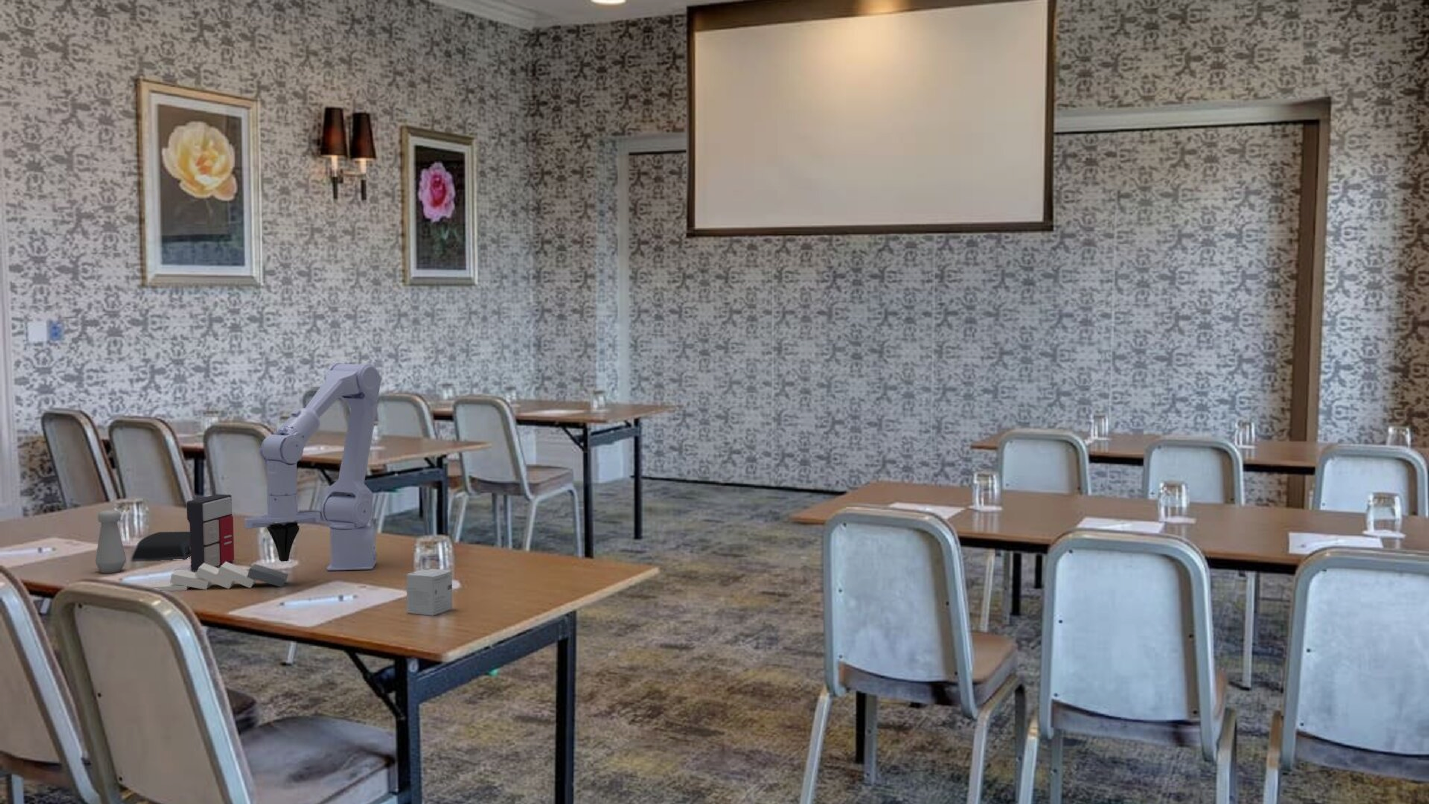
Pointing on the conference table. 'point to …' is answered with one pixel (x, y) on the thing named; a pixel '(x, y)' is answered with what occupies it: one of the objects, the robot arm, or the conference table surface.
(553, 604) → the conference table surface
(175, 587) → the tile
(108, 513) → the salt shaker
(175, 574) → the tile
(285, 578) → the tile
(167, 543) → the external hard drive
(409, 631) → the conference table surface
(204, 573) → the tile
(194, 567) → the calculator
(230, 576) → the tile
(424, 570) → the skincare box
